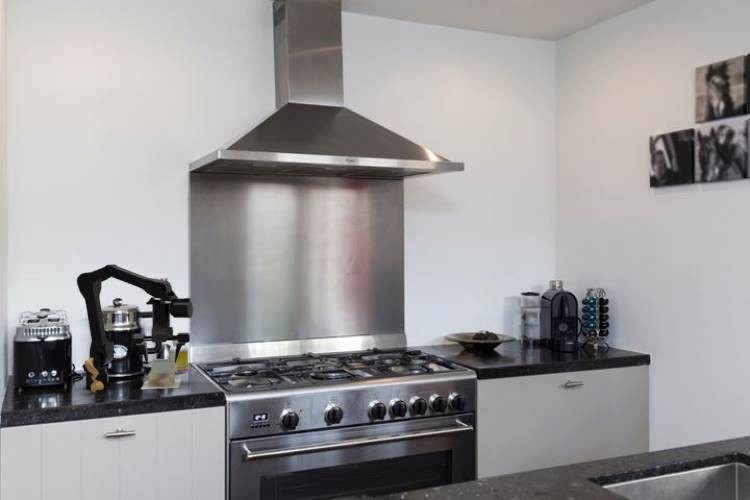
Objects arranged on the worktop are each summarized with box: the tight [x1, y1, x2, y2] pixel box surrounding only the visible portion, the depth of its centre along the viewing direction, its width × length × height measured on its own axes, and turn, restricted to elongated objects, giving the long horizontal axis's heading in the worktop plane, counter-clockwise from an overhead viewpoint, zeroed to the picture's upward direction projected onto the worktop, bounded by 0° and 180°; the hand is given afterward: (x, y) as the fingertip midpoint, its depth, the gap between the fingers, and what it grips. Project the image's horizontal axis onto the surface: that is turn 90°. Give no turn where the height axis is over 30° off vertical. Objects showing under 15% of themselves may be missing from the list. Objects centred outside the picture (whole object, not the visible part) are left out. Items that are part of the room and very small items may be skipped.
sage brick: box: [150, 358, 172, 374], centre depth 245 cm, size 6×6×4 cm
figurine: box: [84, 358, 105, 393], centre depth 237 cm, size 8×6×12 cm
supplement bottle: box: [169, 340, 189, 374], centre depth 271 cm, size 7×7×13 cm
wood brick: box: [147, 370, 176, 387], centre depth 245 cm, size 8×8×4 cm
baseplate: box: [140, 378, 182, 390], centre depth 245 cm, size 12×14×2 cm
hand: (161, 363), depth 245 cm, fingers open, 9 cm apart
